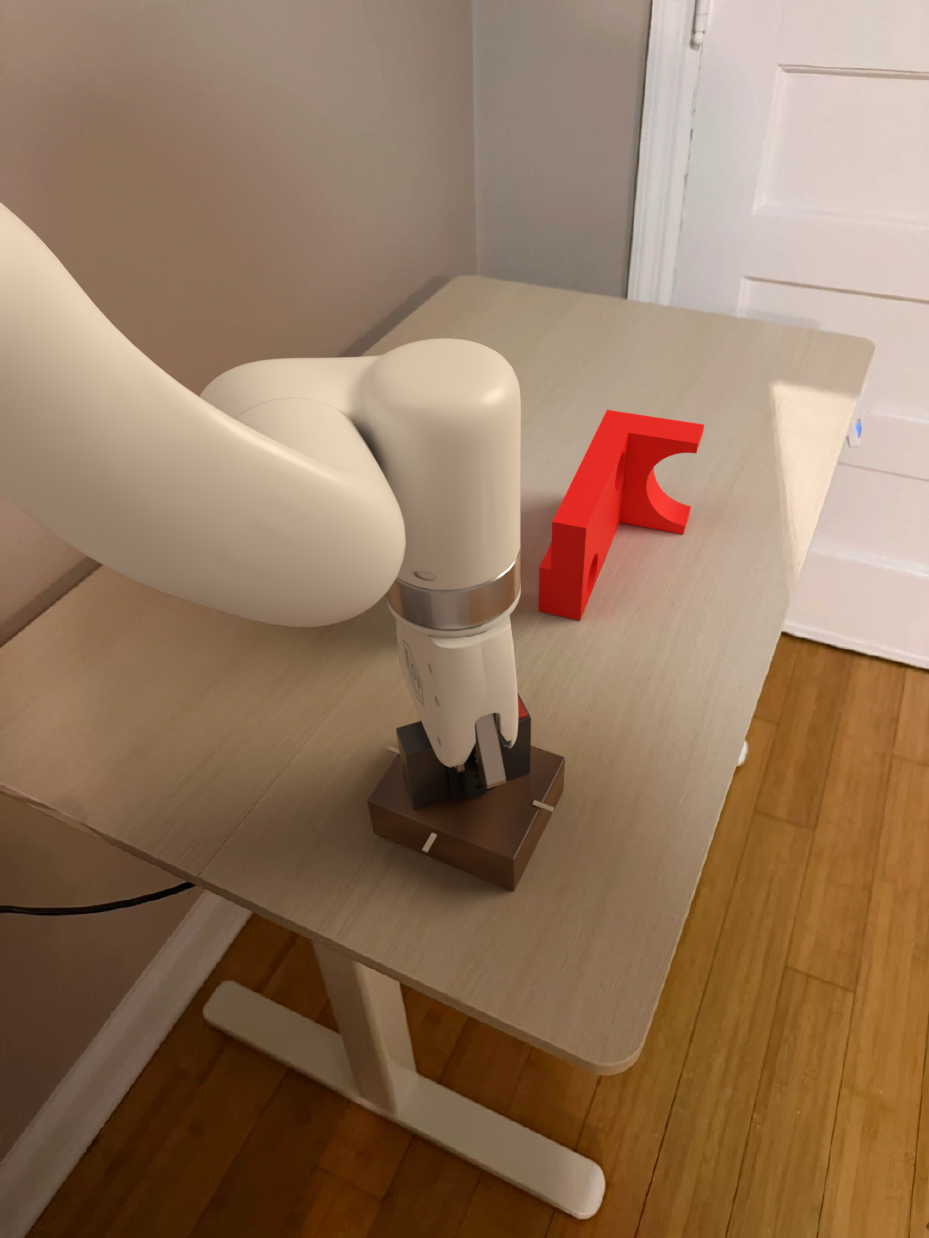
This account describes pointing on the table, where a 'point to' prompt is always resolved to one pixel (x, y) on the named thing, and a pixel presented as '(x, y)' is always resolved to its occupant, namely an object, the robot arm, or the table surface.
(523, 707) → the dark grey block
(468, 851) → the base
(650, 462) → the bracket
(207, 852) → the table surface
